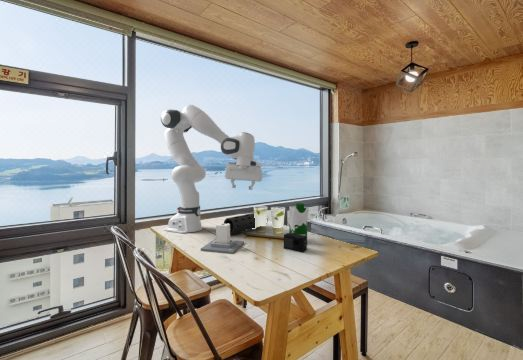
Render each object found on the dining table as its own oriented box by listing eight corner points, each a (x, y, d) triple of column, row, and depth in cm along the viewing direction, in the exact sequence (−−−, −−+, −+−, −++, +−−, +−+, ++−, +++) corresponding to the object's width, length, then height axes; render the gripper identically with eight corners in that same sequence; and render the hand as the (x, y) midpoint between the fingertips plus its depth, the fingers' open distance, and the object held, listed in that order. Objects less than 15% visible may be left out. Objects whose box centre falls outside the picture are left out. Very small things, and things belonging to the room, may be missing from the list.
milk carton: (293, 244, 139) (293, 205, 137) (287, 239, 147) (287, 202, 146) (309, 243, 141) (310, 204, 139) (302, 238, 150) (302, 201, 148)
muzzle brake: (223, 234, 157) (223, 216, 156) (257, 225, 177) (257, 209, 176) (234, 237, 151) (234, 219, 150) (268, 228, 171) (268, 211, 170)
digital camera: (281, 249, 132) (282, 234, 131) (287, 246, 136) (287, 232, 135) (301, 253, 126) (301, 238, 125) (306, 250, 130) (307, 235, 129)
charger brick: (216, 245, 133) (216, 224, 132) (219, 243, 137) (219, 222, 136) (226, 246, 132) (226, 225, 131) (230, 244, 136) (229, 223, 135)
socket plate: (200, 250, 129) (200, 245, 129) (215, 240, 144) (215, 236, 144) (232, 253, 125) (232, 248, 125) (244, 243, 140) (244, 238, 140)
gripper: (224, 161, 147) (221, 186, 146) (261, 163, 141) (258, 190, 140) (228, 162, 153) (226, 187, 152) (264, 164, 147) (261, 190, 146)
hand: (242, 188), depth 146 cm, fingers open, 8 cm apart
